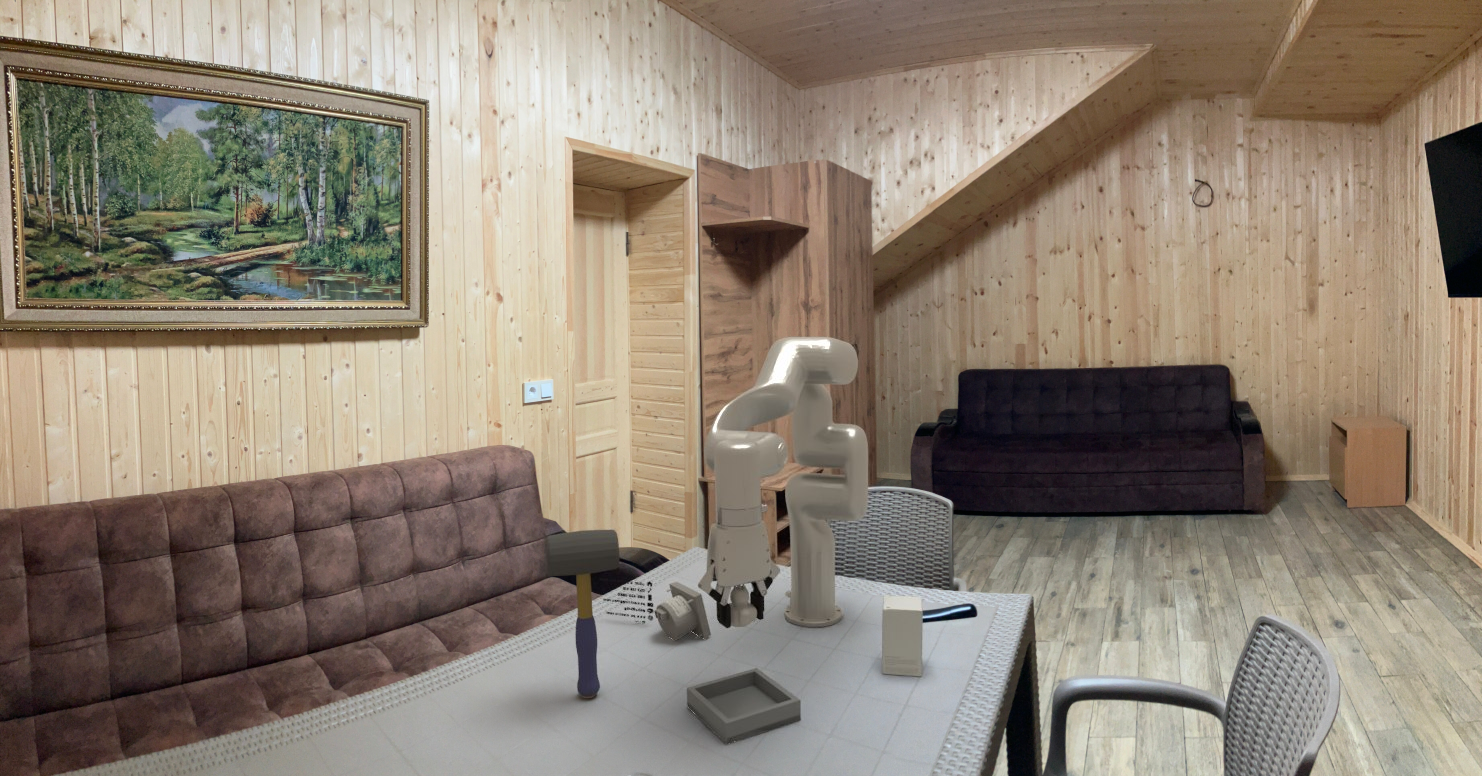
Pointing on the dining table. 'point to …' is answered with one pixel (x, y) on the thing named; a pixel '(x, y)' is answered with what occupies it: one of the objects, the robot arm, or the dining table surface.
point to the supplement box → (902, 635)
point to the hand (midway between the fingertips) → (740, 620)
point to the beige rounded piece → (741, 607)
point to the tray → (743, 705)
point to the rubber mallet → (584, 589)
